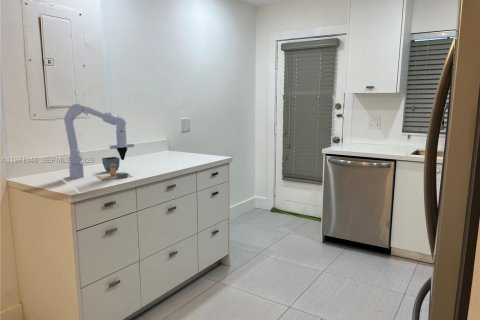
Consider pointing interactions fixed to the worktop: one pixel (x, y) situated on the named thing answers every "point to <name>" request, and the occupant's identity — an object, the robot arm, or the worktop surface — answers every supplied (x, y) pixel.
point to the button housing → (121, 175)
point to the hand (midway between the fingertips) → (122, 159)
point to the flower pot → (110, 162)
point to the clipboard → (109, 177)
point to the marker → (112, 169)
